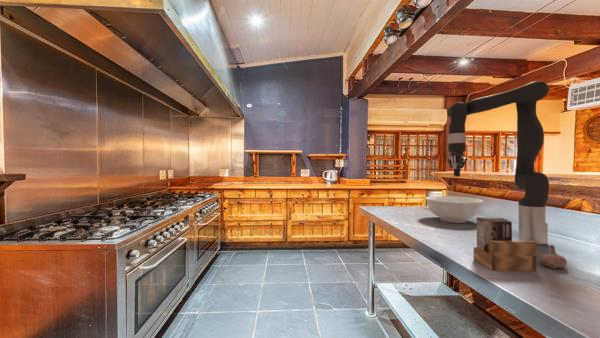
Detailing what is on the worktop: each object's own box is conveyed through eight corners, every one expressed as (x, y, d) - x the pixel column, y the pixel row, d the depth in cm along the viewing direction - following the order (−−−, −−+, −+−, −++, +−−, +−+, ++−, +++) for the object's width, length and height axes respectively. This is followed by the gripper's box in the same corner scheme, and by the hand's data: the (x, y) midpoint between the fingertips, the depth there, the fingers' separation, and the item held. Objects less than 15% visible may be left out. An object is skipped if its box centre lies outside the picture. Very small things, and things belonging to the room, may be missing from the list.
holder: (513, 260, 92) (513, 234, 92) (536, 270, 82) (536, 242, 82) (473, 260, 92) (473, 234, 92) (492, 270, 83) (492, 241, 83)
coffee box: (503, 259, 93) (503, 217, 93) (512, 265, 87) (513, 221, 86) (475, 256, 95) (475, 216, 95) (483, 263, 89) (483, 220, 89)
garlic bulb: (551, 270, 82) (551, 248, 82) (532, 262, 90) (532, 241, 90) (574, 271, 82) (574, 248, 82) (553, 262, 89) (553, 241, 89)
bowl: (419, 221, 157) (419, 199, 157) (431, 213, 182) (431, 194, 181) (480, 229, 136) (480, 203, 136) (484, 219, 160) (484, 197, 160)
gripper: (473, 141, 115) (473, 177, 115) (456, 143, 128) (456, 175, 129) (457, 141, 115) (457, 177, 116) (442, 144, 129) (442, 176, 129)
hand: (456, 176), depth 122 cm, fingers closed
